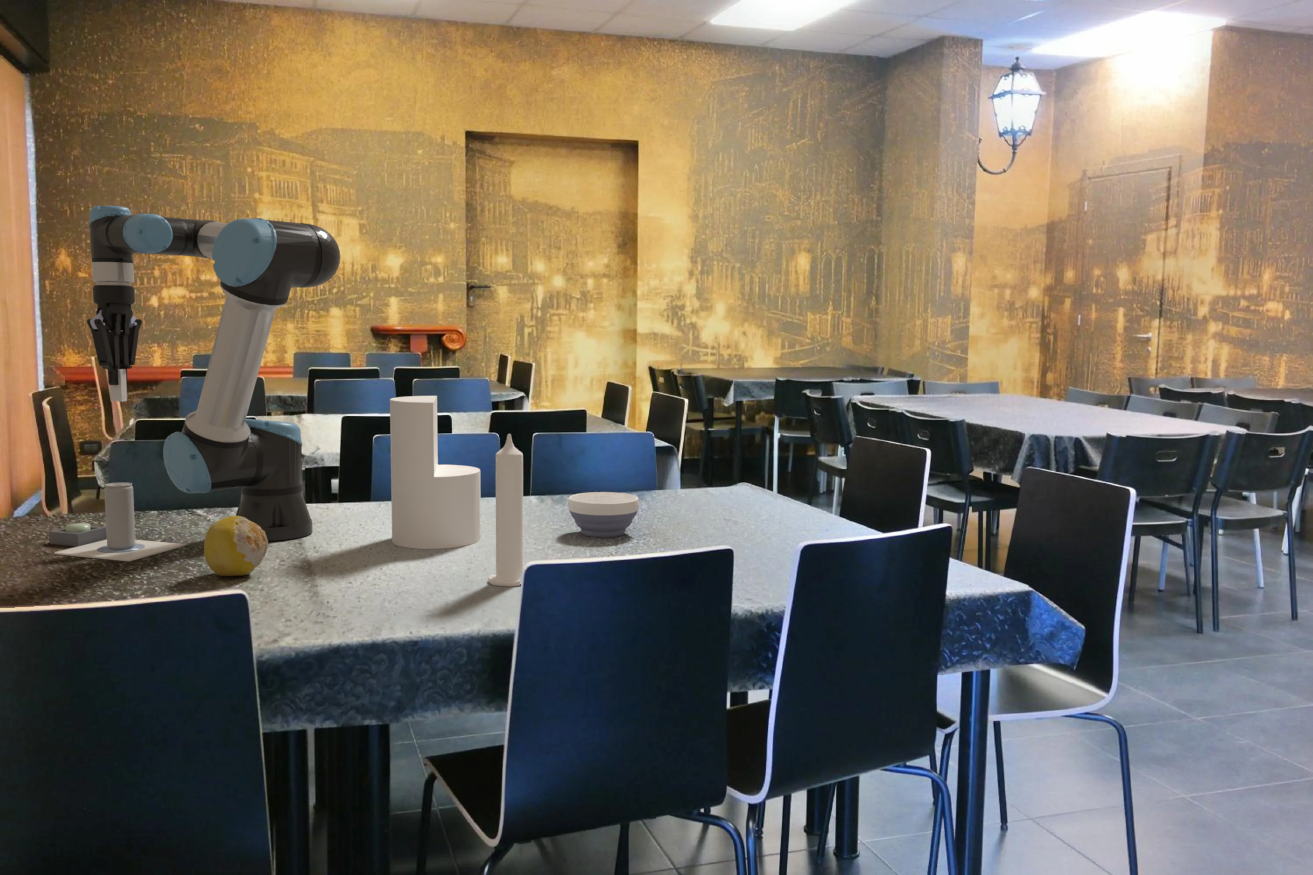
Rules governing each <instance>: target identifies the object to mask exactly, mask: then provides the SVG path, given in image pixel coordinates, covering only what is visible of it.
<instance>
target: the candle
mask: <svg viewBox="0 0 1313 875" xmlns="http://www.w3.org/2000/svg"><path fill="white" fill-rule="evenodd" d="M522 570H523V571H524V454H523V452H522V451H520V450H519V449H518V448H517V447H515V444H514V443H513V439H512V434H511V433H508V434H507V435H506V440H505V444H504V446H503V447H502V448H501V449H500V450H499V451H497V452H495V573H493V574H491V575H489V576H488V580H487V582H488V584H490V585H493V586H496V587H519V586H521V585H520V577H521V573H522Z"/></svg>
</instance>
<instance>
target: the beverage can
mask: <svg viewBox="0 0 1313 875" xmlns="http://www.w3.org/2000/svg"><path fill="white" fill-rule="evenodd" d="M103 489H104V490H103V492H104V493H103V494H104V508H105V509H104V510H105V511H104V512H105V513H104V514H105V527H106V534H107V546H108V548H109V549H112V550H124V549H130V548H132V547H134V545H135V540H136V526H135V525H136V523H135V506H134V505H135V501H134V500H135V499H134V487H133V483H132V482H125V481H124V482H123V481H121V482H111V483H109V482H108V483H105V484H104V488H103Z"/></svg>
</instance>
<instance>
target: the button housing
mask: <svg viewBox="0 0 1313 875" xmlns="http://www.w3.org/2000/svg"><path fill="white" fill-rule="evenodd" d="M90 529H91V530H88V531H83V532H79V533H76V532H66V527H63V528H58V529H54V530H50V531H48V541H49V542H48V543H49V544H50V545H58V546H59V545H60V546H69V547H78V546H82V545H86V544H90V543H94V542H99V541H103V540H107V534H106V526H97V525H90Z"/></svg>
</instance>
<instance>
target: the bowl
mask: <svg viewBox="0 0 1313 875" xmlns="http://www.w3.org/2000/svg"><path fill="white" fill-rule="evenodd" d="M639 502H640V501H639V497H638V496H637V495H635V494H630V493H624V492H613V491H611V492H610V491H600V492H599V491H593V492H582V493H581V492H580V493H576V494H572V495H570V496H569V497H568V502H567V503H568V504H567V505H568V511H569V514H570V516H571V517H572V519H573V520H574V523H575V524H576V525H577V527H578V528H580V532H581V534H583V535H584V536H586V537H589V538H598V539H599V538H600V539H611V538H618V537H621V536H623V535H625V533H626V530H627V528H629V527H630V525H631V524H632V523H633V520H634V518H635V517H636V515H637V513H638V510H639V509H640V507H639V506H640V503H639Z"/></svg>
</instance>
